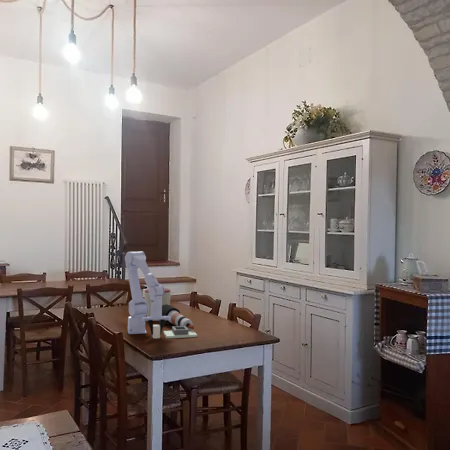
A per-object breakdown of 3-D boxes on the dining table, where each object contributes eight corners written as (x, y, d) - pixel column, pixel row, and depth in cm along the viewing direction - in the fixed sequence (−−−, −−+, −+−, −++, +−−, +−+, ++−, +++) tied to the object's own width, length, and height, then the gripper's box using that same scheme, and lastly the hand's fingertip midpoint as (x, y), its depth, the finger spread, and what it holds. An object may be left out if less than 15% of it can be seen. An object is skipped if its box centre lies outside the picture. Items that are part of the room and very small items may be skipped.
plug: (153, 338, 245) (153, 326, 245) (152, 336, 250) (152, 324, 250) (160, 338, 246) (160, 326, 246) (158, 335, 251) (158, 324, 251)
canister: (174, 315, 308) (174, 282, 308) (168, 320, 290) (168, 286, 290) (147, 314, 310) (147, 282, 310) (139, 319, 292) (139, 285, 292)
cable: (188, 340, 256) (181, 325, 253) (161, 323, 285) (155, 309, 281) (203, 330, 261) (196, 315, 258) (175, 314, 289) (169, 301, 286)
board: (166, 338, 246) (166, 331, 246) (163, 333, 257) (163, 326, 257) (196, 336, 250) (197, 329, 250) (192, 331, 261) (192, 325, 261)
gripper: (143, 310, 242) (142, 336, 242) (171, 309, 246) (171, 335, 246) (141, 307, 249) (141, 333, 249) (169, 307, 253) (169, 332, 253)
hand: (156, 334), depth 248 cm, fingers closed on plug, 3 cm apart
